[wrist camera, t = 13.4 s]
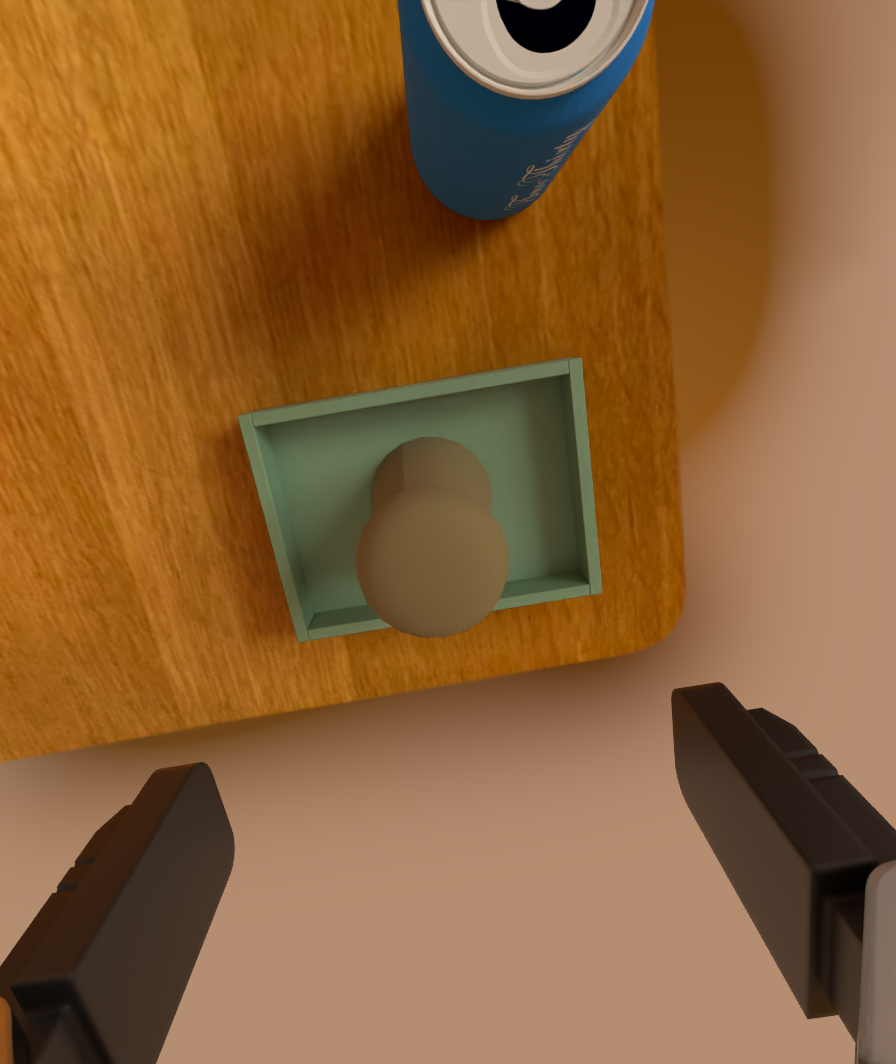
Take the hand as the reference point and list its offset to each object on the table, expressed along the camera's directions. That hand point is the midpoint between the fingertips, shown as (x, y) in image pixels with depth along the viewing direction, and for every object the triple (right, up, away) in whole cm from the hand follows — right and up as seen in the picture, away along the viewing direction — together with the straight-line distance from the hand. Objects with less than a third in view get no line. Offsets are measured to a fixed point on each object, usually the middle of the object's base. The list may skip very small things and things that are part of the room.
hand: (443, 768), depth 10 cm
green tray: (-1, +6, +19) cm, 20 cm away
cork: (-1, +6, +19) cm, 20 cm away
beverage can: (+2, +21, +15) cm, 26 cm away
